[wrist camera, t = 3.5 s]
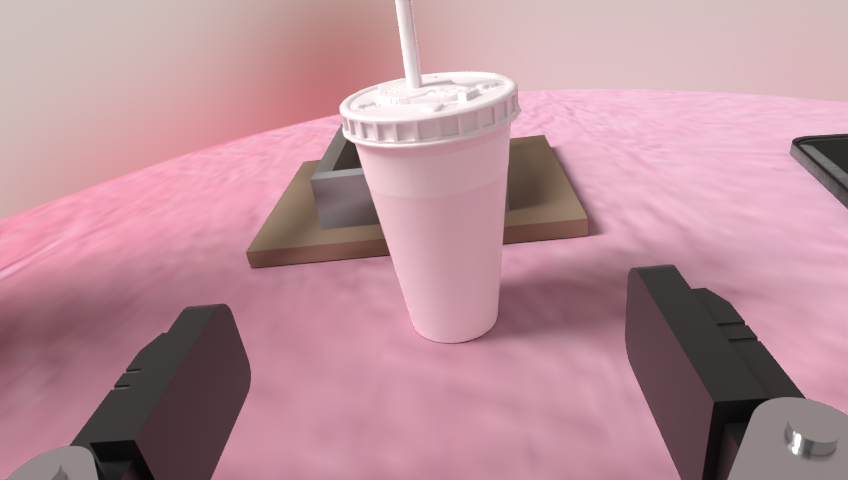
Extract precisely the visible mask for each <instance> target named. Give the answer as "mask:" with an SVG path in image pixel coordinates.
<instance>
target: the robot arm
mask: <svg viewBox="0 0 848 480" xmlns="http://www.w3.org/2000/svg"><path fill="white" fill-rule="evenodd" d="M625 341H626V349H627V354H628V358H629V362H630V365H631V367H632V369H633V372H634V374H635V376H636V378H637V381H638V383H639V385H640V387H641V390H642V392H643V394H644V396H645V399H646V401H647V403H648V405H649V408H650V410H651V412H652V414H653V417H654V419H655V421H656V424H657V426H658V428H659V430H660V433H661V435H662V437H663V439H664V442H665V444H666V446H667V448H668V451H669V453H670V455H671V457H672V460H673V462H674V464H675V466H676V469H677V471H678V473H679V475H680V478H681V480H848V415H846V414H844V413H843V412H841V411H839V410H837V409H835V408H833V407H831V406H828V405H825V404H823V403H820V402H816V401H813V400H809V399H806V398H805V397H804V395H803V394H802V393H801V392H800V390H799V389H798V388H797V387H796V385H795V384H794V383H793V382H792V380H791V379H790V378H789V377H788V375H787V374H786V373H785V372H784V370H783V369H782V368H781V367H780V365H779V364H778V363H777V362H776V360H775V359H774V358H773V356H772V355H771V354H770V353H769V351H768V350H767V349H766V348H765V346H764V345H763V344H762V343H761V341H758V340H757V336H756V335H755V334H754V333H753V331H752V330H751V329H750V328H749V326H748V325H745V321H744V320H743V319H742V317H741V316H740V315H739V314H738V312H737V311H736V310H735V309H734V307H733V306H732V305H731V304H730V303H729V302H728V301H726V300H724V299H723V298H721V297H720V296H718V295H716V294H715V293H713V292H711V291H710V290H708V289H707V288H699V289H691V288H690V287H689V285H688V284H687V282H686V281H685V280H684V278H683V277H682V275H681V274H680V273H679V271H678V270H677V268H676V267H675V266H674V265H660V266H649V267H638V268H631V269H630V271H629V275H628V289H627V308H626V327H625ZM250 381H251V371H250V364H249V361H248V358H247V355H246V352H245V349H244V346H243V343H242V340H241V338H240V335H239V332H238V329H237V326H236V323H235V320H234V317H233V315H232V312H231V310H230V308H229V307H228V306H227V305H226V304H213V305H202V306H190V307H186V308H185V309H184V310H183V311H182V312H181V314H180V315H179V317H178V318H177V319H176V321H175V322H174V324H173V325H172V327H171V328H170V329H169V331H168V332H167V333H162V334H161V335H159V336H158V337H157V338H156V339H154V340H153V341H152V342H151V343H149V344H148V345H147V346H146V347H144V348H143V349H142V350H140V352H139V353H138V354H137V356H136V357H135V358H134V360H133V361H132V362H131V364H130V365H129V366H128V368H127V369H126V373H124V374H123V375H122V376H121V377H120V379H119V380H118V381H117V383H116V384H115V385H114V387H115V388H114V390H111V391H110V392H109V393H108V395H107V396H106V397H105V399H104V400H103V401H102V403H101V404H100V405H99V407H98V408H97V409H96V411H95V412H94V414H93V415H92V416H91V418H90V419H89V420H88V422H87V423H86V424H85V426H84V427H83V428H82V430H81V431H80V432H79V434H78V435H77V436H76V438H75V439H74V440H73V442H72V443H71V444H70V446H67V447H62V448H57V449H54V450H51V451H48V452H46V453H44V454H41V455H39V456H37V457H36V458H34V459H32V460H30V461H29V462H27V463H25V464H24V465H23V466H21V467H20V468H18V469H17V470H16V471H15V472H14V473H12V474H11V475H10V476H9V477H8V478H7V479H6V480H211V477H212V475H213V473H214V470H215V468H216V466H217V463H218V461H219V459H220V457H221V454H222V452H223V450H224V447H225V445H226V443H227V440H228V438H229V436H230V433H231V431H232V429H233V427H234V424H235V422H236V420H237V417H238V415H239V413H240V410H241V408H242V406H243V404H244V401H245V399H246V397H247V394H248V392H249V388H250Z"/></svg>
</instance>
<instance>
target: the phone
mask: <svg viewBox="0 0 848 480" xmlns="http://www.w3.org/2000/svg"><path fill="white" fill-rule="evenodd" d="M790 154H791V156H792V157H793V158H795V159H796V160H797V161H798V162H799V163H800V164H801V165H802V166H803V167H804V168H805V169H806V170H807V171H808V172H809V173H810V174H811V175H813V176H814V177H815V178H816V179H817V180H818V181H819V182H820V183H821V184H822V185H823V186H824V187H825V188H826V189H827V190H828V191H830V192H831V193H832V194H833V195H834V196H835V197H836V198H837V199H838V200H839V201H840V202H841V203H842V204H843V205H844V206H845V207H846V208H848V134H834V135H818V136H804V137H799V138H795V139H794V140H793V141H792V145H791V151H790Z"/></svg>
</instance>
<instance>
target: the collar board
mask: <svg viewBox="0 0 848 480" xmlns="http://www.w3.org/2000/svg"><path fill="white" fill-rule="evenodd" d="M342 128H343V124H341V126H340V128H339V129H338V131H337V133H336V135H335V137H334V138H333V140H332V142H331V144H330V145H329V147H328V149H327V151H326V152H325V154H324V156H323V158H322V160H316V161H307V162H303V164H302V165H301V167H300V168H299V170H298V172H297V173H296V175H295V176H294V178H293V179H292V181H291V183H290V184H289V186H288V187H287V189H286V190H285V192H284V193H283V195H282V197H281V198H280V200H279V201H278V203H277V204H276V206H275V208H274V209H273V211H272V212H271V214H270V215H269V217H268V219H267V220H266V222H265V223H264V225H263V226H262V228H261V230H260V231H259V233H258V234H257V236H256V237H255V239H254V240H253V242H252V244H251V245H250V247H249V248H248V250H247V251H246V253H247V257H248V260H249V263H250V266H251V268H257V267H267V266H278V265H288V264H299V263H309V262H319V261H330V260H340V259H351V258H361V257H372V256H382V255H390V252H389V248H388V245H387V242H386V239H385V236H384V233H383V230H382V227H381V224H380V220H379V217H378V214H377V211H376V208H375V205H374V202H373V199H372V196H371V193H370V189H369V186H368V184H367V181H366V178H365V175H364V171H363V168H362V165H361V161H360V158H359V155H358V152H357V148H356V145H355V143H353V142H351V141H349V140H348V139H346V138H345V137H344V134H343V131H342ZM580 236H588V217H587V215H586V213H585V211H584V210H583V208H582V206H581V204H580V202H579V200H578V198H577V196H576V194H575V193H574V191H573V189H572V187H571V185H570V183H569V181H568V179H567V177H566V176H565V174H564V172H563V170H562V168H561V166H560V164H559V162H558V160H557V158H556V157H555V155H554V153H553V151H552V149H551V147H550V145H549V143H548V141H547V140H546V138H545V136H544V135H539V136H530V137H521V138H512V139H510V143H509V163H508V172H507V187H506V201H505V216H504V231H503V244H507V243H518V242H528V241H538V240H549V239H559V238H570V237H580Z"/></svg>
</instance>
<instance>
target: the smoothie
mask: <svg viewBox="0 0 848 480" xmlns="http://www.w3.org/2000/svg"><path fill="white" fill-rule="evenodd" d="M395 3H396V10H397V17H398V24H399V31H400V39H401V46H402V52H403V59H404V67H405V75H406V78H403V79H398V80H393V81H389V82H385V83H381V84H378V85H375V86H372V87H369V88H366V89H364V90H361V91H358V92H357V93H355V94H353V95H351V96H349V97H348V98H347V99H345V100H344V101H343V103H342V104H341V105H340V113H341V118H342V123H343V128H342V131H343V134H344V137H345V138H346V139H348V140H349V141H351V142H353V143H355V145H356V148H357V152H358V155H359V158H360V161H361V165H362V168H363V171H364V175H365V178H366V181H367V184H368V186H369V189H370V193H371V196H372V199H373V202H374V205H375V208H376V211H377V214H378V217H379V220H380V224H381V227H382V230H383V233H384V236H385V239H386V242H387V245H388V248H389V252H390V255H391V258H392V261H393V264H394V267H395V270H396V273H397V276H398V280H399V283H400V286H401V289H402V292H403V295H404V298H405V301H406V304H407V307H408V311H409V314H410V317H411V320H412V323H413V326H414V328H415V330H416V331H417V332H418V333H419V334H420V335H421V336H423V337H425V338H427V339H429V340H432V341H435V342H441V343H459V342H465V341H469V340H472V339H475V338H477V337H480V336H482V335H483V334H485V333H486V332H488V331H489V330H490V329H491V328H492V327H493V326H494V324H495V323H496V320H497V317H498V303H499V289H500V274H501V260H502V245H503V231H504V216H505V201H506V187H507V172H508V163H509V143H510V126H511V122H513V121H514V120H516V119H517V117H518V115H519V114H520V112H521V109H520V106H519V103H518V87H517V83H516V82H515V81H514V80H513V79H511V78H509V77H507V76H504V75H500V74H495V73H487V72H446V73H435V74H427V75H421V68H420V60H419V53H418V45H417V38H416V29H415V21H414V13H413V5H412V0H395Z"/></svg>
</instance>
